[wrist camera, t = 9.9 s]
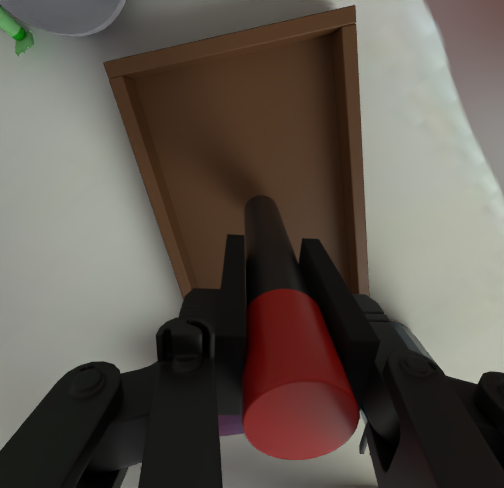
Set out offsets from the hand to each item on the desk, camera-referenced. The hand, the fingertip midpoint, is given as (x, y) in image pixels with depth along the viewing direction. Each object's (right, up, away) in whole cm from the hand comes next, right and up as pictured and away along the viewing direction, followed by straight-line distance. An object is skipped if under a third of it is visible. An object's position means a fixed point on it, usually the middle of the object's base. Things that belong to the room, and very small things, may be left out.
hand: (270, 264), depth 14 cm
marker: (0, +3, +7) cm, 8 cm away
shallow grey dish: (-14, +16, +5) cm, 22 cm away
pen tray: (0, +4, +9) cm, 10 cm away
